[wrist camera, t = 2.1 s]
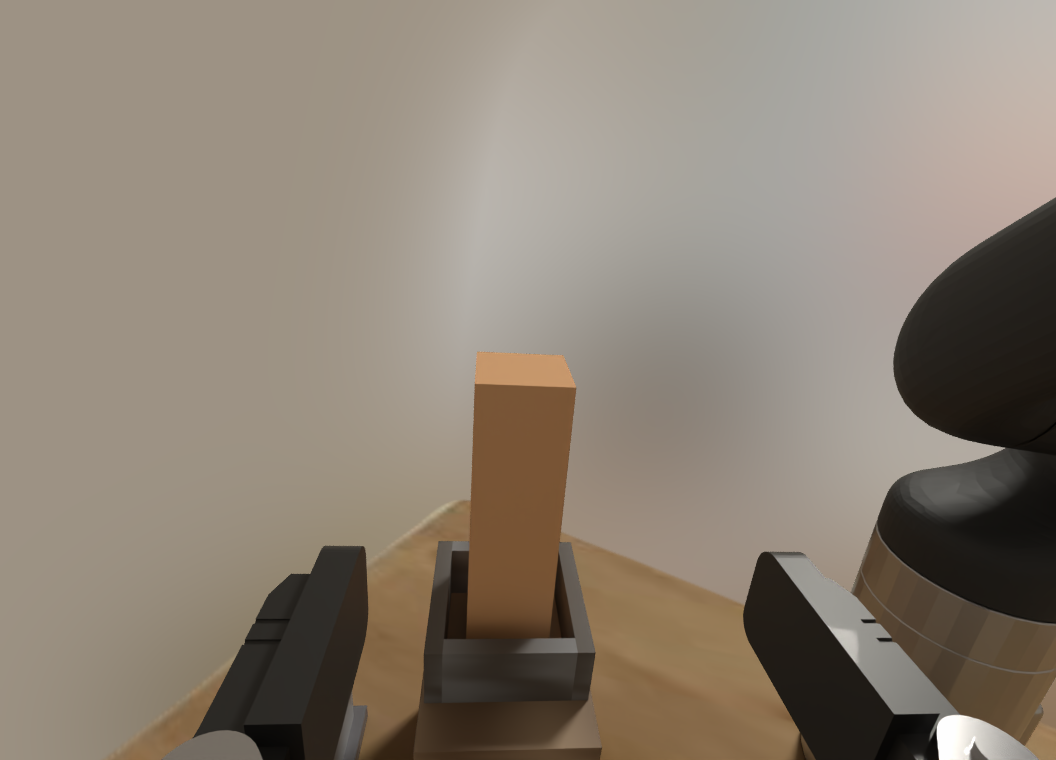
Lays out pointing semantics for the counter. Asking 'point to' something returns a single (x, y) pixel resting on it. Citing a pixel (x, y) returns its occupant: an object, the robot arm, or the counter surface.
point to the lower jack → (351, 732)
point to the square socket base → (505, 677)
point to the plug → (517, 492)
